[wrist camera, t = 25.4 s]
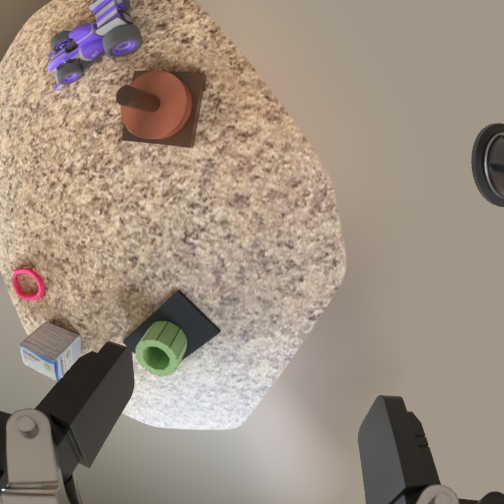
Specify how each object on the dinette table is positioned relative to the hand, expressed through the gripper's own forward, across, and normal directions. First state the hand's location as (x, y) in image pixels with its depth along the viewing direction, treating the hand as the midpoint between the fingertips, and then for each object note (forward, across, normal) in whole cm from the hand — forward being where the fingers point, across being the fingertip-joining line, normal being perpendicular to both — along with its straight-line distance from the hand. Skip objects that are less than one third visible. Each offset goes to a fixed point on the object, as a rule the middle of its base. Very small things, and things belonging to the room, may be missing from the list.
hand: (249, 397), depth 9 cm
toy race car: (+30, +29, -20) cm, 46 cm away
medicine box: (+28, +33, +27) cm, 51 cm away
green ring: (+28, +12, +21) cm, 37 cm away
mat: (+29, +12, +21) cm, 38 cm away
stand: (+30, +16, -10) cm, 35 cm away
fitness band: (+28, +40, +18) cm, 52 cm away
